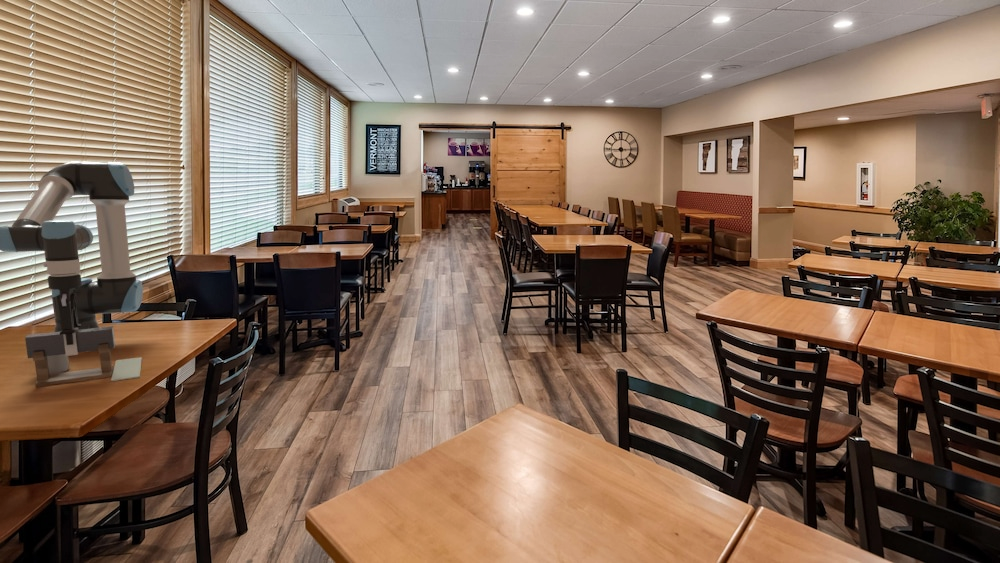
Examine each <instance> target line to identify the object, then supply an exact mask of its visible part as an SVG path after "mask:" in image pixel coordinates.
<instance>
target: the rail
mask: <svg viewBox="0 0 1000 563" xmlns="http://www.w3.org/2000/svg"><path fill="white" fill-rule="evenodd" d="M60 332H61V331H60ZM60 332H54V331H51V332H42V333H41V332H39V333H29V334H27V335H26V336H25V338H24V340H25V347H26V355H27V359H33V355H32V352H37V351H44V356H53V355H62V354H66V353H65V345H64V337H63V334H61V335H60ZM75 333H76V342H77V350H78V354H79V353H86V352H95V351H99V350H98V345H100V344H108V347H109V349H110V350H111V349H115V347H116V342H115V334H114V333H115V332H114V326H103V327H101V326H100V328H91V329H80V330H75Z"/></svg>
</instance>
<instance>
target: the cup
mask: <svg viewBox="0 0 1000 563" xmlns="http://www.w3.org/2000/svg"><path fill="white" fill-rule="evenodd" d="M47 358H48V366H49V374H55V373H63V372H68V370H69V369H70V361H69V360H70V359H69V356H66V354H62V355H53V356H47Z"/></svg>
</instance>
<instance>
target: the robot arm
mask: <svg viewBox="0 0 1000 563" xmlns="http://www.w3.org/2000/svg"><path fill="white" fill-rule="evenodd" d="M134 182H135V181H134V178H133V176H132V173H131V171H130V169H129V168H128V166H127V165H125V163H122V162H114V161H113V162H112V161H79V160H78V161H77V160H76V161H69V162H66V163H62V164H58V165H57V166H55V167H54V168H52V169H50V170H49V171H47V172H45V173H44V175H43V176H42V177H41V178H40V179H39V181H38V183H37V184H38V187H37V188H38V189H37V191H36V192H35V193H34V194H33V196H32V197H31V199H30V200H29V201H28V203H27V204H26V206H25V207H24V208H23V210H22V211H21V213H20V214H19V216H17V218H16V220H14V222H13V223H12V225H7V224H6V225H1V226H0V251H1V252H14V253H18V252H24V253H25V252H44V258H45V263H44V264H43V267H44V268H46V274H48V275H49V276H48V277H47V283H48V288H49V289H50V290H51V301H52V308H53V315H54V323H55V325H54V329H53V332H60V331H61V332H60V335H61V334H63V337H64V345H65V353H66V356H68V357H69V356H78V355H79V353H78V350H77V342H76V333H75V330H80V329H91V328H101V326H100V325H99V323H98V322H97V318H96V315H99V314H101V315H103V314H117V313H121V314H124V313H133V312H136V311H138V309H139V308H140V306H141V304H142V301H143V295H144V287H143V282H142V281H141V280H139V279H137V276H136V274H135V273H134V272H132V271H131V263H130V252H129V241H128V238H129V237H128V230H127V218H126V205H127V204H128V203H129V201H130V197H131V196H134V194H135V183H134ZM73 196H88V197H89V201H90V202H91V203H92V204H93V205H94V206H95V213H96V214H95V215H96V224H97V236H98V247H99V257H100V267H101V273H100V274H99V275H98V276H97V277H96V279H97V281H93V279H92V278H91V277H82V275H81V274H80V273H81V265H80V257H79V251H81V250H85V249H86V248H87V247H89V246H91V245H92V243H93V241H94V234H93V232H92V231H91V229H90V228H89V227H86V226H85V225H81V224H76V223H75V222H74V221H73V220H69V219H68V220H67V219H66V220H62V219H61V220H54V219H55V217H56V216H57V214H58V213H59V211H60V209H61V208H62V207H63V206H64V204H65V202H66V201H69V200H70V199H72V197H73Z"/></svg>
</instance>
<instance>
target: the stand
mask: <svg viewBox="0 0 1000 563" xmlns="http://www.w3.org/2000/svg"><path fill="white" fill-rule="evenodd" d="M97 351H98V354H99V361H100V367H96V368H95V367H94V368H87V369H79V370H71V371H65V372H61V373H55V374H49V366H48V358H47V356H44V351H37V352H32V355H33V358H32V361H33V362H34V365H35V367H34V368H35V374H36V382H35V383H34V385H35V388H37V387H45V386H52V385H59V384H67V383H73V382H81V381H83V382H84V381H90V380H98V379H103V378H104V379H105V378H112V374H113V370H114V365H113V362H112V354H111V349H109V347H108V344H100V345H98V350H97Z"/></svg>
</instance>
